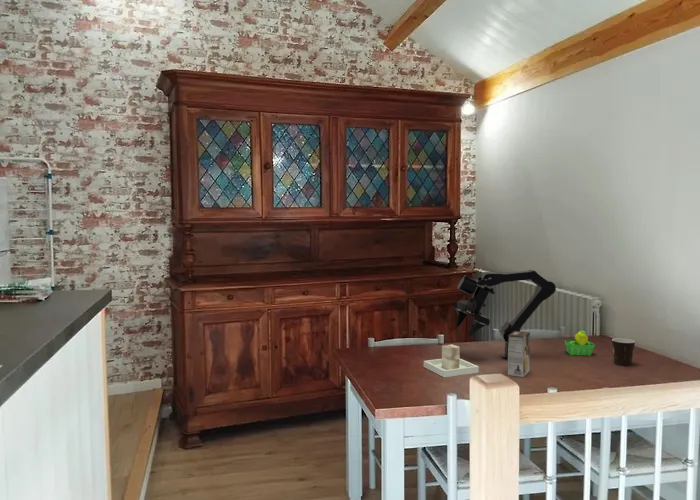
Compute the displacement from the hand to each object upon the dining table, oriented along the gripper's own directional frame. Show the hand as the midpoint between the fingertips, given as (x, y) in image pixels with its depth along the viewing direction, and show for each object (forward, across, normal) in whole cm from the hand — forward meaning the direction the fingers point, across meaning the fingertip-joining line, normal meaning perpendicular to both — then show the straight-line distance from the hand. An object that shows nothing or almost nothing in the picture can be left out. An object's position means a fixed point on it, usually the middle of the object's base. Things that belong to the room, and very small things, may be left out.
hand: (463, 331), depth 241 cm
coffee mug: (-16, +40, +50) cm, 66 cm away
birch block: (+14, +14, -11) cm, 23 cm away
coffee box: (+3, +30, +7) cm, 31 cm away
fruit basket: (-11, +21, +50) cm, 55 cm away
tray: (+14, +14, -11) cm, 23 cm away
